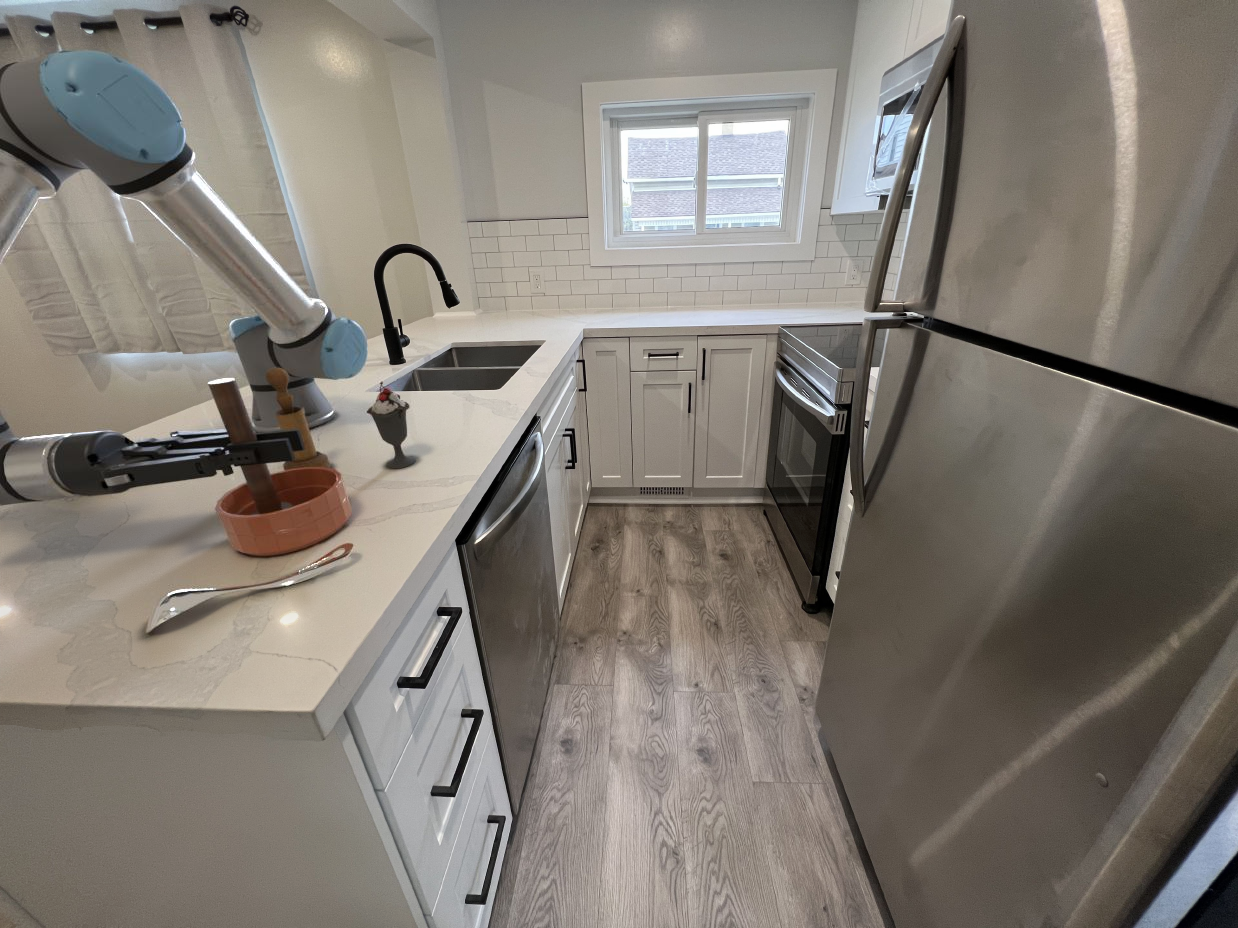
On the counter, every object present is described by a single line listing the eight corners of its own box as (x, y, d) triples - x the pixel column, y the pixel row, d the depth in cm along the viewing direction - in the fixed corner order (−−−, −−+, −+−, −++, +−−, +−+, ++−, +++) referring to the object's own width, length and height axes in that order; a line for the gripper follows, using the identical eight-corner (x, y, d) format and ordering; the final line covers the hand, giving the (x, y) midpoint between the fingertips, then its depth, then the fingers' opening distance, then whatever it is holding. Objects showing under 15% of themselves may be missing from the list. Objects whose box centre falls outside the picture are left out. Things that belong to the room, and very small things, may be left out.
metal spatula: (344, 522, 61) (351, 539, 57) (354, 546, 62) (361, 563, 59) (135, 597, 51) (128, 623, 48) (153, 623, 53) (147, 650, 49)
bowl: (262, 509, 73) (248, 473, 71) (364, 497, 75) (354, 462, 73) (209, 566, 60) (189, 524, 58) (334, 550, 63) (320, 508, 60)
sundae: (397, 474, 83) (375, 386, 76) (372, 466, 86) (349, 381, 80) (429, 459, 88) (411, 376, 81) (405, 452, 91) (386, 372, 85)
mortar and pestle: (310, 482, 81) (274, 374, 74) (277, 480, 82) (238, 373, 75) (339, 465, 87) (308, 363, 79) (307, 463, 88) (274, 363, 81)
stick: (262, 512, 67) (210, 377, 59) (300, 507, 68) (253, 374, 60) (245, 530, 63) (185, 388, 55) (286, 526, 64) (233, 384, 56)
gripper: (140, 466, 67) (326, 448, 71) (39, 526, 53) (278, 500, 57) (114, 414, 64) (310, 397, 67) (0, 463, 50) (255, 439, 53)
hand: (295, 444), depth 62 cm, fingers closed on stick, 3 cm apart
